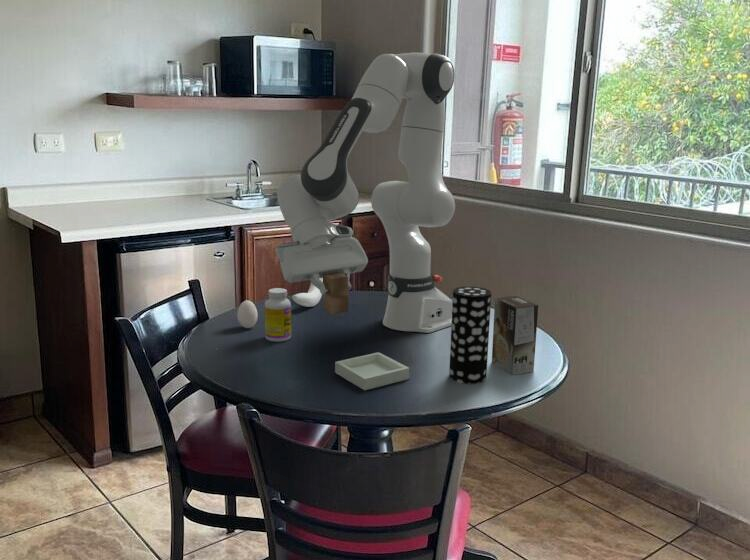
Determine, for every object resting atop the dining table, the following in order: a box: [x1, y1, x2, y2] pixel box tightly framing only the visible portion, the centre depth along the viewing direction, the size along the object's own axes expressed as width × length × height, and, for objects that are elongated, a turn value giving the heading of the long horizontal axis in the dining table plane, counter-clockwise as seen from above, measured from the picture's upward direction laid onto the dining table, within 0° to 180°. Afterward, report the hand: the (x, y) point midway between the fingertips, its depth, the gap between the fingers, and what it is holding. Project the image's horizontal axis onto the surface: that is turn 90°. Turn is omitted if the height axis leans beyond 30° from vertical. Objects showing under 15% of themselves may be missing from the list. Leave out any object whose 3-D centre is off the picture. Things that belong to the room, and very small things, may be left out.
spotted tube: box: [448, 286, 492, 385], centre depth 160 cm, size 8×8×20 cm
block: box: [322, 272, 349, 316], centre depth 157 cm, size 4×4×8 cm
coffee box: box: [491, 295, 539, 376], centre depth 166 cm, size 9×6×16 cm
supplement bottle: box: [264, 287, 292, 343], centre depth 184 cm, size 7×7×13 cm
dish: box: [334, 351, 411, 391], centre depth 161 cm, size 12×12×3 cm
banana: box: [291, 278, 323, 308], centre depth 213 cm, size 5×19×15 cm, turn 166°
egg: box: [236, 299, 259, 329], centre depth 192 cm, size 5×5×8 cm
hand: (337, 291), depth 157 cm, fingers closed on block, 4 cm apart
